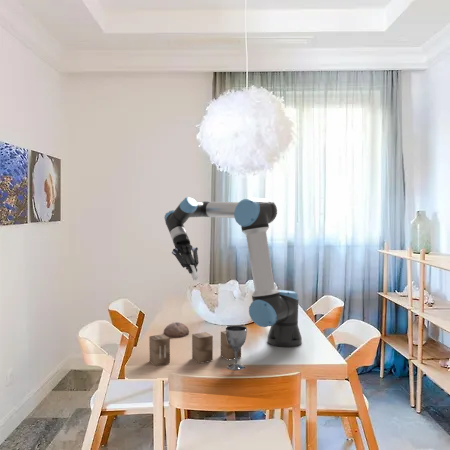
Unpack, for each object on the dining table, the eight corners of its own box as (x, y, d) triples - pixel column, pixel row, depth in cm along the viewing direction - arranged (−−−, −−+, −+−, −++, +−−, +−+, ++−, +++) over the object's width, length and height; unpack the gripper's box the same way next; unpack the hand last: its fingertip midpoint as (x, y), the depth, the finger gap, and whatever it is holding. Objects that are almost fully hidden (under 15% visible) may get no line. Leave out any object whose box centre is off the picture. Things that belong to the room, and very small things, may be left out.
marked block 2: (233, 353, 196) (233, 329, 196) (241, 357, 191) (241, 333, 191) (220, 355, 193) (220, 331, 193) (228, 360, 188) (228, 335, 188)
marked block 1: (163, 358, 190) (163, 333, 189) (170, 363, 184) (169, 337, 184) (149, 361, 187) (149, 336, 186) (155, 366, 181) (155, 340, 181)
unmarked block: (205, 356, 193) (205, 332, 192) (212, 360, 188) (212, 335, 187) (192, 358, 190) (192, 334, 189) (199, 363, 185) (199, 338, 184)
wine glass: (249, 369, 178) (249, 330, 177) (229, 371, 176) (229, 331, 175) (242, 362, 186) (242, 324, 185) (223, 364, 184) (223, 326, 183)
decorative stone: (170, 339, 216) (170, 327, 216) (159, 333, 226) (159, 321, 226) (193, 335, 222) (193, 324, 222) (181, 329, 232) (181, 318, 232)
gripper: (190, 242, 232) (206, 282, 219) (165, 244, 226) (180, 284, 212) (194, 232, 227) (211, 272, 214) (169, 233, 221) (185, 274, 207)
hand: (195, 278), depth 213 cm, fingers closed
